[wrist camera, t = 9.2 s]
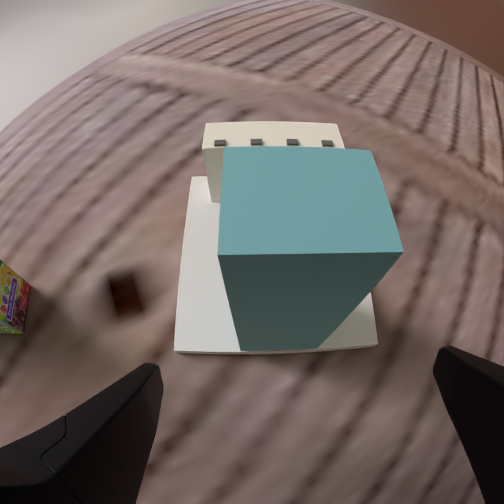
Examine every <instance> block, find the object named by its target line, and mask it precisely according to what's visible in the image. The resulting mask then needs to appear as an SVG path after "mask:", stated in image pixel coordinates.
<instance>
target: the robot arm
mask: <svg viewBox="0 0 504 504" xmlns="http://www.w3.org/2000/svg"><path fill="white" fill-rule="evenodd" d="M433 374H434V377H435V380H436V382H437V385H438V387H439V390H440V393H441V396H442V398H443V401H444V404H445V407H446V409H447V411H448V414H449V416H450V418H451V420H452V422H453V424H454V426H455V429H456V431H457V433H458V435H459V438H460V440H461V442H462V444H463V447H464V449H465V452H466V454H467V456H468V459H469V461H470V464H471V466H472V469H473V471H474V474H475V476H476V479H477V482H478V484H479V487H480V490H481V493H482V496H483V498H484V500H485V501H484V502H485V504H504V366H501V365H499V364H496V363H493V362H491V361H488V360H486V359H483V358H481V357H478V356H476V355H473V354H470V353H468V352H465V351H463V350H460V349H458V348H455V347H453V346H446V347H442V348H440V349H439V351H438V354H437V357H436V360H435V363H434V367H433ZM162 396H163V382H162V377H161V373H160V368H159V366H158V365H157V364H154V363H144V364H142V365H141V366H139V367H138V368H136V369H135V370H133V371H132V372H130V373H129V374H127V375H126V376H124V377H123V378H121V379H120V380H118V381H117V382H115V383H113V384H112V385H110V386H109V387H107V388H106V389H104V390H103V391H101V392H100V393H98V394H97V395H95V396H93V397H92V398H90V399H89V400H87V401H86V402H84V403H82V404H81V405H79V406H78V407H76V408H75V409H73V410H71V411H70V412H68V413H67V414H66V416H65V415H63V416H62V417H60V418H58V419H57V420H55V421H53V422H52V423H50V424H48V425H47V426H45V427H43V428H41V429H39V430H37V431H35V432H33V433H31V434H29V435H27V436H25V437H23V438H21V439H19V440H17V441H14V442H12V443H10V444H8V445H6V446H3V447H1V448H0V504H136V500H137V497H138V493H139V489H140V486H141V482H142V479H143V475H144V472H145V468H146V465H147V462H148V458H149V455H150V451H151V448H152V445H153V441H154V438H155V434H156V430H157V425H158V419H159V413H160V407H161V401H162Z"/></svg>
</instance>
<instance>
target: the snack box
mask: <svg viewBox="0 0 504 504" xmlns="http://www.w3.org/2000/svg"><path fill="white" fill-rule="evenodd" d="M29 291H30V284H28V283H27V282H26V281H25V280H24V279H22V278H21V277H20V276H19V275H17V274H16V273H15V272H14V271H13V270H12V269H10V268H9V267H8V266H7V265H6V264H4V263H3V262H2V261H1V260H0V333H11V334H23V333H24V331H23V329H24V321H25V314H26V307H27V301H28V296H29Z"/></svg>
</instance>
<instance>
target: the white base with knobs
mask: <svg viewBox="0 0 504 504" xmlns="http://www.w3.org/2000/svg"><path fill="white" fill-rule="evenodd" d="M245 146H295V147H325V148H343V149H345V147H344V144H343V141H342V138H341V135H340V133H339V130H338V127H337V124H329V123H311V122H270V121H263V122H222V123H206V126H205V132H204V139H203V145H202V152H203V158H204V163H205V169H206V174H207V176H200V177H192V180H191V187H190V194H189V201H188V208H187V216H186V223H185V231H184V240H183V248H182V258H181V267H180V277H179V288H178V299H177V312H176V325H175V341H174V351H175V352H177V353H187V354H284V353H305V352H321V351H334V350H346V349H357V348H366V347H373V346H375V345H377V344H378V339H377V332H376V324H375V317H374V310H373V304H372V298H371V292H370V293H369V294H368V295H367V296H366V297H365V298H364V299H363V301H362V302H361V303H360V304H359V305H358V306H357V307H356V308H355V309H354V311H353V312H352V313H351V314H350V315H349V316H348V317H347V318H346V319H345V320H344V321H343V322H342V323H341V324H340V326H339V327H338V328H337V329H336V330H335V331H334V332H333V333H332V334H331V335H330V336H329V337H328V338H327V339H326V340H325V341H324V342H323V343H322V344H321V345H320V346H319V347H318V348H314V349H296V350H269V351H240V347H239V343H238V339H237V335H236V331H235V327H234V323H233V319H232V315H231V311H230V306H229V302H228V298H227V294H226V290H225V286H224V281H223V277H222V273H221V268H220V264H219V260H218V255H217V253H218V233H219V215H220V199H221V184H222V169H223V156H224V147H245Z"/></svg>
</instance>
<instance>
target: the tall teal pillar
mask: <svg viewBox="0 0 504 504" xmlns="http://www.w3.org/2000/svg"><path fill="white" fill-rule="evenodd" d="M403 252H404V251H403V248H402V244H401V240H400V237H399V233H398V230H397V226H396V223H395V220H394V216H393V213H392V210H391V207H390V204H389V200H388V197H387V194H386V191H385V188H384V186H383V183H382V180H381V177H380V174H379V171H378V169H377V166H376V163H375V161H374V158H373V156H372V153H371V151H370V150H358V149H343V148H325V147H295V146H245V147H224V156H223V169H222V184H221V199H220V215H219V233H218V253H217V255H218V260H219V264H220V268H221V273H222V277H223V281H224V286H225V290H226V294H227V298H228V302H229V306H230V311H231V315H232V319H233V323H234V327H235V331H236V335H237V339H238V343H239V347H240V351H269V350H296V349H314V348H318V347H319V346H320V345H321V344H322V343H323V342H324V341H325V340H326V339H327V338H328V337H329V336H330V335H331V334H332V333H333V332H334V331H335V330H336V329H337V328H338V327H339V326H340V324H341V323H342V322H343V321H344V320H345V319H346V318H347V317H348V316H349V315H350V314H351V313H352V312H353V311H354V309H355V308H356V307H357V306H358V305H359V304H360V303H361V302H362V301H363V299H364V298H365V297H366V296H367V295H368V294H369V293H370V292H371V290H372V289H373V288H374V287H375V286H376V285H377V283H378V282H379V281H380V280H381V279H382V278H383V276H384V275H385V274H386V273H387V272H388V270H389V269H390V268H391V267H392V266H393V264H394V263H395V262H396V261H397V259H398V258H399V257H400V256H401V255H402V253H403Z"/></svg>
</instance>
